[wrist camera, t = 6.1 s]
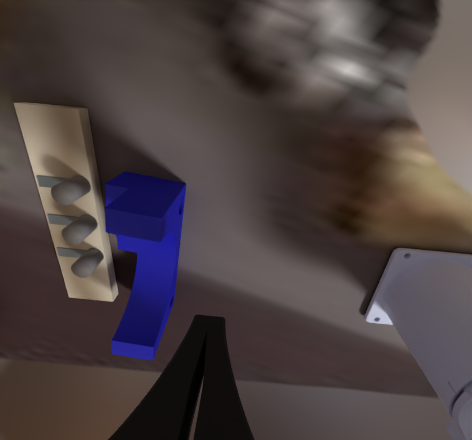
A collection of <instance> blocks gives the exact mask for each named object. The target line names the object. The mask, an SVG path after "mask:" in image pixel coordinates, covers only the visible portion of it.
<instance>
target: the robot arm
mask: <svg viewBox="0 0 472 440" xmlns="http://www.w3.org/2000/svg"><path fill="white" fill-rule="evenodd" d="M405 254H407V255H406V256H404V255H405ZM364 317H365V320H366V321H367V322H370V323H380V324H391V325H394V326H395V328H396V330H397V331H398V333H399V334H400V336H401V337H402V339H403V341H404V342H405V344H406V345H407V347H408V349H409V350H410V352H411V353H412V355H413V356H414V358H415V360H416V361H417V363H418V364H419V366H420V368H421V369H422V371H423V372H424V374H425V376H426V377H427V379H428V380H429V382H430V383H431V385H432V387H433V388H434V390H435V391H436V393H437V395H438V396H439V398H440V399H441V401H442V402H443V404H444V405H445V407H446V409H447V410H448V412H449V413H450V415H451V417H452V421H451V422H450V423H449V424H448V425H447V426H446V429H447V431H448V432H449V434H450V436H451V438H452V439H453V440H472V255H470V254H460V253H450V252H439V251H429V250H419V249H408V248H397V249H395V250H394V251H393V252H392V255H391V257H390V259H389V261H388V264H387V266H386V268H385V270H384V273H383V275H382V277H381V279H380V282H379V284H378V286H377V288H376V291H375V293H374V295H373V297H372V300H371V302H370V304H369V306H368V309H367V311H366V313H365V316H364ZM203 376H204V379H203ZM202 380H203V388H202V394H201V400H200V406H199V411H198V418H197V423H196V429H195V434H194V440H254V438H253V435H252V433H251V430H250V427H249V425H248V422H247V419H246V416H245V413H244V410H243V407H242V404H241V401H240V398H239V394H238V391H237V387H236V383H235V380H234V376H233V372H232V368H231V363H230V358H229V353H228V348H227V341H226V331H225V319H224V318H223V317H215V316H205V315H196V316H194V319H193V321H192V324H191V326H190V328H189V330H188V332H187V334H186V336H185V337H184V339H183V341H182V343H181V344H180V346H179V348H178V349H177V351H176V353H175V354H174V356H173V358H172V359H171V361H170V362H169V364H168V365H167V367H166V368H165V370H164V371H163V373H162V374H161V376H160V377H159V378H158V380H157V381H156V383H155V384H154V385H153V387H152V388H151V389H150V391H149V392H148V394H147V395H146V396H145V397H144V399H143V400H142V401H141V402H140V404H139V405H138V406H137V407H136V409H135V410H134V411H133V412H132V413H131V414H130V416H129V417H128V418H127V419H126V420H125V422H124V423H123V424H122V425H121V426H120V427H119V428H118V430H117V431H116V432H115V433H114V434H113V435H112V436H111V437H110V438H109V439H108V440H189V437H190V432H191V426H192V423H193V418H194V414H195V410H196V405H197V401H198V397H199V393H200V388H201V384H202Z"/></svg>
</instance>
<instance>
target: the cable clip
mask: <svg viewBox="0 0 472 440" xmlns="http://www.w3.org/2000/svg"><path fill="white" fill-rule="evenodd" d="M185 190H186V183H181V182H176V181H170V180H165V179H160V178H155V177H150V176H145V175H140V174H135V173H129V172H123V173H122V174H120V175H119V176H117V177H115V178H114V179H112V180H111V181H109V182H107V183H106V184H105V194H106V207H105V208H104V209H105V227H106V233H112V234H116V236H117V241H118V250H124V251H129V252H135V253H137V265H136V272H135V278H134V283H133V287H132V291H131V294H130V298H129V301H128V304H127V307H126V310H125V312H124V315H123V317H122V320H121V322H120V324H119V327H118V329H117V331H116V333H115V335H114V337H113V339H112V354H116V355H122V356H128V357H134V358H140V359H146V360H153V359H154V356H155V353H156V350H157V348H158V345H159V342H160V339H161V336H162V334H163V331H164V328H165V325H166V323H167V320H168V317H169V314H170V311H171V309H172V306H173V303H174V295H175V286H176V276H177V267H178V257H179V248H180V238H181V228H182V219H183V209H184V200H185Z"/></svg>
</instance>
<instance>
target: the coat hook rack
mask: <svg viewBox="0 0 472 440" xmlns="http://www.w3.org/2000/svg"><path fill="white" fill-rule="evenodd" d="M14 106H15V109H16V113H17V116H18V120H19V123H20V127H21V130H22V134H23V137H24V141H25V144H26V148H27V151H28V155H29V158H30V162H31V165H32V169H33V172H34V176H35V179H36V183H37V186H38V190H39V193H40V197H41V200H42V204H43V207H44V211H45V214H46V218H47V221H48V225H49V228H50V232H51V235H52V239H53V242H54V246H55V249H56V253H57V256H58V260H59V263H60V267H61V270H62V274H63V277H64V281H65V284H66V288H67V291H68V295H69V297H72V298H82V299H92V300H103V301H114V300H115V298H116V296H117V295H118V289H117V283H116V277H115V271H114V265H113V259H112V253H111V247H110V241H109V235H108V233H106V227H105V211H104V205H103V199H102V193H101V187H100V181H99V175H98V169H97V163H96V157H95V151H94V145H93V139H92V133H91V127H90V121H89V115H88V109H87V108H80V107H70V106H59V105H49V104H39V103H28V102H22V103H14Z"/></svg>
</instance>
